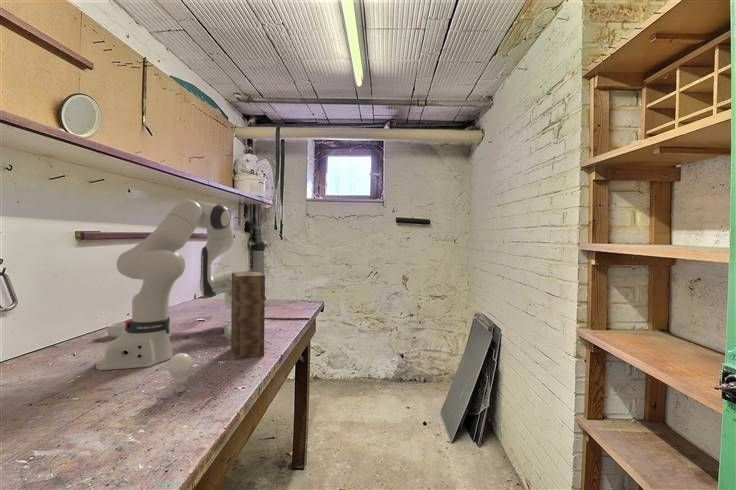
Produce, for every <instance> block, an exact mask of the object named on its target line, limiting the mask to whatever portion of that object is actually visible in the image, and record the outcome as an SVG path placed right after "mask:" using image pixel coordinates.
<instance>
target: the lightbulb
mask: <svg viewBox="0 0 736 490" xmlns="http://www.w3.org/2000/svg"><path fill="white" fill-rule="evenodd" d="M193 365H194V361H193V358H192V357H191V355H190V354H188V353H185V352H179V353H176V354H173V356H172V357H171V358H169V359H168V361H167V366H166V367H167V368H166V369H167V372H168V374H169V375H171V376H172V380H173V383H174V392H176V393H178V394H182V393H183V392H184V391H186V381H187V379H188V375H189V373H191V370H192V369H193V367H194V366H193Z"/></svg>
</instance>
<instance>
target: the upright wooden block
mask: <svg viewBox="0 0 736 490" xmlns="http://www.w3.org/2000/svg"><path fill="white" fill-rule="evenodd" d="M265 295H266V275H265V274H263V273H262V272H259V271H241V272H240V271H239V272H238V271H235V272H232V306H231V308H230V309H231V311H230V312H231V314H230V315H231V316H230V317H231V318H230V321H231V323H230V325H231V340H230V349H231V352H232V355H233V358H234V360H236V361H239V360H245V359H252V358H253V359H254V358H260V357H265V317H266V316H265V313H266V311H265V310H266V309H265V302H266V299H265V297H266V296H265Z"/></svg>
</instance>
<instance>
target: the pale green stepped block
mask: <svg viewBox="0 0 736 490" xmlns="http://www.w3.org/2000/svg"><path fill="white" fill-rule="evenodd" d="M223 330H224V333H223V334H224V337H225V339H227V340H228V341H231V324H225V325H223Z"/></svg>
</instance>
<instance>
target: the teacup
mask: <svg viewBox="0 0 736 490" xmlns="http://www.w3.org/2000/svg"><path fill="white" fill-rule="evenodd" d="M125 322H126V321H120V322H119V321H118V322H113V323H109V324H107V327H106V328H107V334H108V336H109V337H110V338H112V339H116V338H118V337H119V336H120V335H122V334H123V333H124V332H126V331H125Z"/></svg>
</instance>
